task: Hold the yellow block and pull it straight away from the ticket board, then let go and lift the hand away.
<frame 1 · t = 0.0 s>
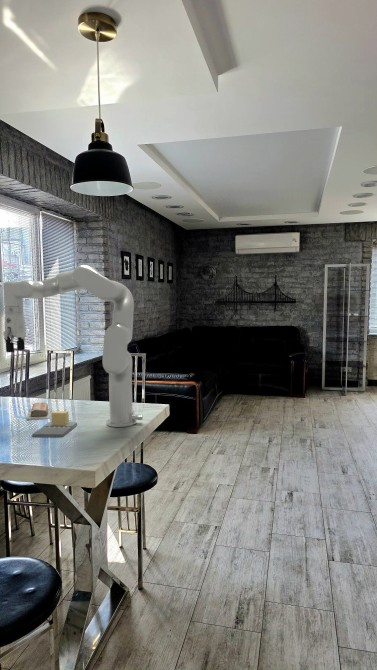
hand: (15, 351, 187), 31 cm above the table, tool pointing down, fingers open, 9 cm apart
yellow block: (60, 419, 181), point 3 cm above the table, slide at 0.0 cm
packaged product: (39, 416, 203), on the table
ticket board: (52, 433, 173), on the table
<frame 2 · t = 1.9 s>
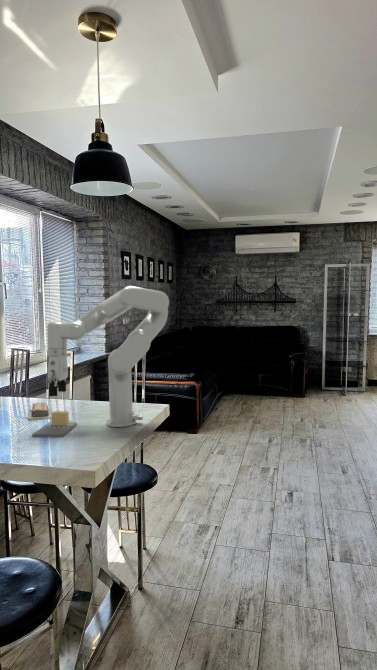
hand: (57, 393, 180), 14 cm above the table, tool pointing down, fingers open, 9 cm apart
nothing on the table moved.
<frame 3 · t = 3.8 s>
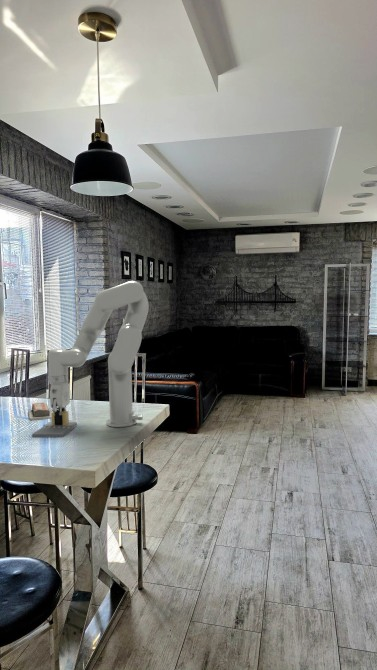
hand: (60, 423, 181), 2 cm above the table, tool pointing down, fingers closed on yellow block, 3 cm apart
yellow block: (60, 419, 181), point 3 cm above the table, slide at 0.0 cm, touching gripper
everything else where it was.
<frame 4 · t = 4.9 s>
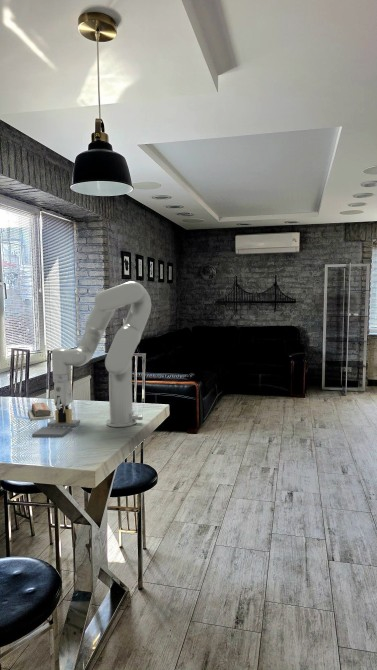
hand: (63, 420, 185), 2 cm above the table, tool pointing down, fingers closed on yellow block, 3 cm apart
yellow block: (63, 417, 185), point 3 cm above the table, slide at 4.0 cm, touching gripper
everything else where it was.
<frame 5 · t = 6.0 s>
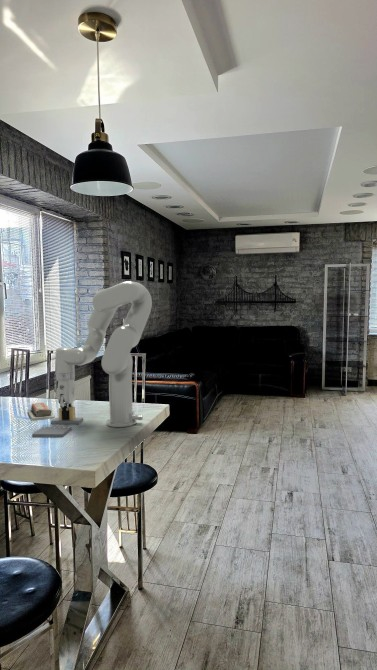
hand: (67, 418, 189), 2 cm above the table, tool pointing down, fingers closed on yellow block, 3 cm apart
yellow block: (67, 414, 189), point 3 cm above the table, slide at 8.0 cm, touching gripper
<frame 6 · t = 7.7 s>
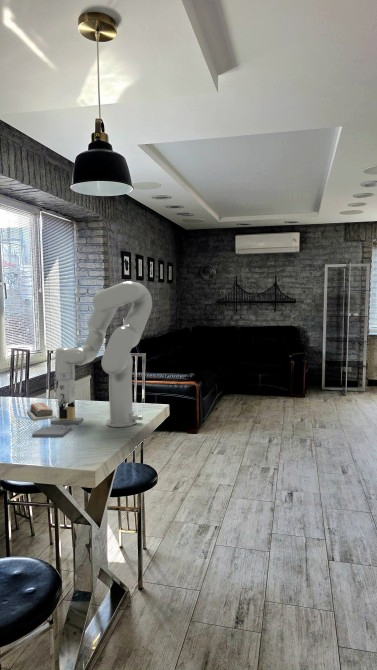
hand: (67, 415, 189), 3 cm above the table, tool pointing down, fingers open, 9 cm apart
yellow block: (67, 414, 189), point 3 cm above the table, slide at 8.0 cm
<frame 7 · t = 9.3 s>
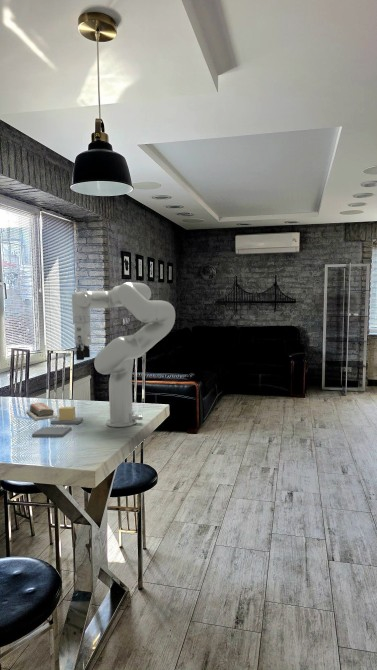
hand: (83, 358, 195), 27 cm above the table, tool pointing down, fingers open, 9 cm apart
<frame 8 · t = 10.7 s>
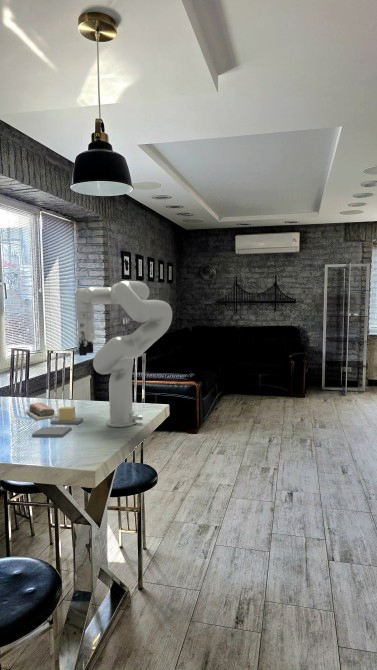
hand: (86, 354, 197), 28 cm above the table, tool pointing down, fingers open, 9 cm apart
at the end: yellow block slide at 8.0 cm; the gripper is holding nothing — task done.
